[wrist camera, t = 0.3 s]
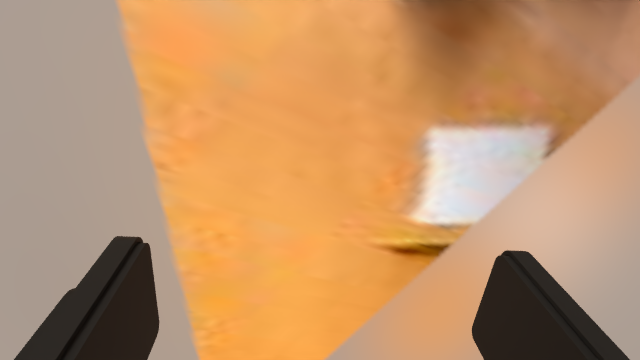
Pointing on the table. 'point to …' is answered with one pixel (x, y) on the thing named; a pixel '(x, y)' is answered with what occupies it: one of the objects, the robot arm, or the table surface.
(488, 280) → the robot arm
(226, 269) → the table surface
